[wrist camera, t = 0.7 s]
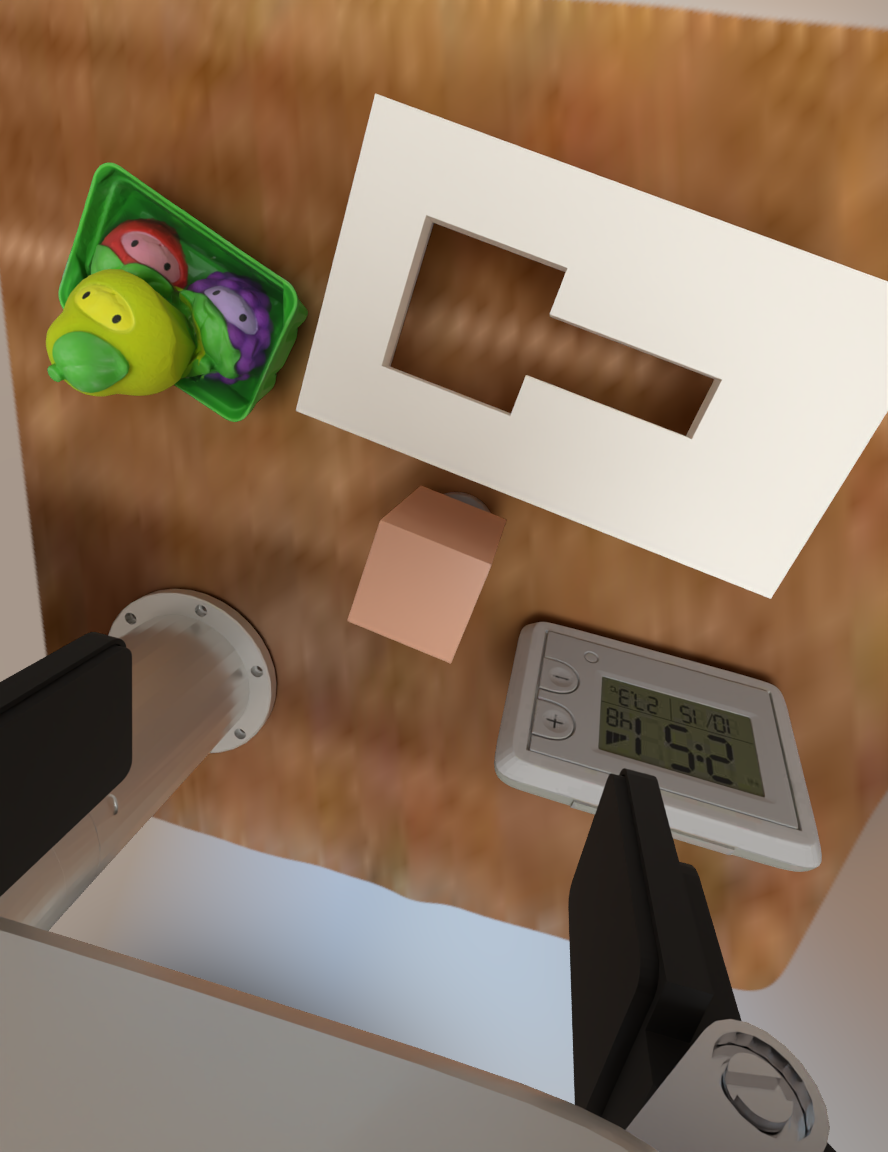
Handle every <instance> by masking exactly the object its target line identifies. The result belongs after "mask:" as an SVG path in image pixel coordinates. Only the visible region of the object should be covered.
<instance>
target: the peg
mask: <svg viewBox="0 0 888 1152" xmlns="http://www.w3.org/2000/svg"><path fill="white" fill-rule="evenodd" d="M505 523H506V519H504V518H501V517H499V516H496V515H494V514H491V513H490V511H489V509H488V508H487V506H486V505H485V504H484V503H483V502H482V501H481V500H479V499H478V498H476V497H475V496H473V495H470V494H467V493H463V492H449V493H445V494H441V493H438V492H436V491H433V490H431V489H428V488H426V487H423V486H420V487H419V488H417V489H416V490H415V491H414V492H413V493H412V494H410V495H409V496H408V497H407V498H406V499H404V500H403V501H402V502H401V503H400V504H399V505H397V506H396V507H395V508H394V509H393V510H391V511H390V512H389V513H388V514H387V515H386V516H384V517H383V518H382V519H381V520H380V522H379V526H378V529H377V532H376V535H375V538H374V541H373V544H372V547H371V550H370V553H369V556H368V559H367V562H366V565H365V568H364V571H363V575H362V578H361V581H360V584H359V587H358V590H357V593H356V596H355V599H354V602H353V605H352V608H351V611H350V614H349V617H348V620H347V621H349V622H351V623H354V624H356V625H359V626H361V627H363V628H366V629H368V630H371V631H373V632H376V633H378V634H380V635H383V636H385V637H388V638H390V639H393V640H395V641H397V642H400V643H402V644H405V645H407V646H410V647H412V648H414V649H417V650H419V651H422V652H424V653H427V654H429V655H431V656H434V657H436V658H439V659H441V660H444V661H446V662H448V663H451V662H452V659H453V657H454V654H455V652H456V650H457V647H458V645H459V642H460V640H461V638H462V635H463V633H464V630H465V628H466V626H467V623H468V621H469V618H470V616H471V613H472V611H473V609H474V606H475V604H476V601H477V599H478V597H479V594H480V592H481V589H482V587H483V584H484V582H485V580H486V577H487V575H488V572H489V570H490V568H491V565H492V562H493V559H494V556H495V553H496V550H497V547H498V544H499V541H500V538H501V535H502V532H503V529H504V526H505Z"/></svg>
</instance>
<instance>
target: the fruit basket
mask: <svg viewBox="0 0 888 1152" xmlns="http://www.w3.org/2000/svg"><path fill="white" fill-rule="evenodd" d="M59 300H60V304H61V306H62V308H63V312H62V314H60V315H59V316H58V318H57V319H56V320H55V321H54V322H53V323H52V324H51V326H50V327H49V329H48V331H47V337H46V348H47V352H48V356H49V359H50V361H51V363H52V365H51V366H49V367H48V369H47V371H48V374H49V376H50V377H51V378H52V379H53V380H54V381H56V382H60V381H61V380H64V381H65V382H67V383H68V384H69V385H70V386H71V387H73V388H74V389H76V390H77V391H79V392H81V393H84V394H87V395H91V396H109V395H114V394H125V395H133V396H143V395H151V394H155V393H159V392H161V391H164V390H166V389H167V388H169V387H171V386H173V385H175V386H177V387H178V388H179V389H181V390H182V391H184V392H186V393H187V394H189V395H190V396H192V397H193V398H194V399H196V400H198V401H199V402H201V403H202V404H204V405H205V406H207V407H208V408H210V409H211V410H213V411H214V412H216V413H217V414H219V415H220V416H222V417H223V418H225V419H227V420H229V421H233V422H238V421H241V420H243V419H244V418H245V417H246V416H247V415H248V414H249V413H250V412H251V411H252V409H253V408H254V406H255V404H256V403H257V402H258V401H259V400H260V399H262V398H263V397H264V396H265V395H266V394H267V393H268V392H269V391H270V390H271V389H272V388H273V387H274V385H275V382H276V376H277V375H276V373H277V372H278V371H279V370H280V369H281V368H282V367H283V366H284V364H285V362H286V359H287V357H288V355H289V353H290V351H291V349H292V347H293V345H294V343H295V340H296V338H297V332H298V327H299V326H300V325H301V324H302V323H303V322H304V321H305V319H306V317H307V315H308V311H307V309H306V308H305V306H304V305H303V304H302V303H301V301H300V300H299V299H298V296H297V293H296V291H295V289H294V288H293V286H292V285H291V284H290V283H289V282H288V281H286V280H285V279H283V278H282V277H280V276H279V275H277V274H276V273H274V272H273V271H271V270H270V269H268V268H267V267H265V266H264V265H262V264H261V263H259V262H258V261H256V260H255V259H253V258H252V257H250V256H249V255H247V254H246V253H244V252H243V251H241V250H240V249H238V248H237V247H236V246H234V245H233V244H231V243H230V242H229V241H227V240H225V239H224V238H222V237H221V236H220V235H218V234H217V233H215V232H214V231H212V230H211V229H210V228H208V227H207V226H205V225H204V224H203V223H201V222H200V221H198V220H197V219H195V218H194V217H192V216H191V215H189V214H188V213H187V212H186V211H184V210H182V209H181V208H179V207H178V206H176V205H175V204H173V203H172V202H170V201H169V200H168V199H166V198H165V197H163V196H162V195H160V194H159V193H157V192H156V191H155V190H153V189H152V188H150V187H149V186H147V185H146V184H144V183H143V182H142V181H140V180H139V179H137V178H136V177H134V176H133V175H132V174H130V173H129V172H127V171H126V170H125V169H123V168H122V167H120V166H118V165H116V164H114V163H104V164H102V165H100V166H99V168H98V169H97V170H96V172H95V174H94V176H93V180H92V183H91V186H90V190H89V193H88V197H87V200H86V203H85V208H84V211H83V213H82V217H81V220H80V223H79V227H78V230H77V234H76V237H75V239H74V243H73V247H72V249H71V252H70V255H69V258H68V261H67V264H66V267H65V270H64V274H63V277H62V281H61V284H60V287H59Z"/></svg>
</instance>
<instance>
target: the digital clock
mask: <svg viewBox="0 0 888 1152" xmlns="http://www.w3.org/2000/svg"><path fill="white" fill-rule="evenodd" d="M494 765H495V771H496V774H497V776H498V778H499V779H501V780H502V781H503V782H504V783H505V784H507V785H509V786H511V787H513V788H516V789H519V790H522V791H525V792H528V793H531V794H534V795H537V796H541V797H544V798H547V799H550V800H553V801H557V802H560V803H563V804H566V805H570V807H572V808H575V809H578V810H582V811H585V812H588V813H591V814H595V813H596V810H597V807H598V804H599V801H600V798H601V796H602V793H603V790H604V787H605V784H606V781H607V778H608V776H609V774H611V773H612V774H616V775H619V774H620V772H621V770H622V769H624V768H626V769H630V770H634V771H638V772H642V773H645V774H649V775H653V776H655V777H656V778H657V780H658V784H659V787H660V791H661V795H662V799H663V803H664V807H665V810H666V814H667V818H668V822H669V826H670V830H671V833H672V837H673V838H674V839H677V840H681V841H684V842H687V843H691V844H694V845H697V846H701V847H704V848H707V849H710V850H714V851H717V852H720V853H724V854H727V855H731V854H732V855H735V856H739V857H742V858H745V859H749V860H752V861H756V862H759V863H762V864H766V865H769V866H773V867H776V868H780V869H785V870H790V871H799V872H803V871H809V870H812V869H814V868H816V867H817V866H819V865H820V863H821V858H822V854H821V847H820V842H819V838H818V833H817V828H816V824H815V820H814V816H813V811H812V807H811V803H810V799H809V795H808V791H807V787H806V783H805V779H804V775H803V771H802V767H801V763H800V759H799V755H798V751H797V746H796V742H795V738H794V734H793V730H792V726H791V722H790V718H789V714H788V710H787V706H786V703H785V700H784V698H783V695H782V693H781V692H780V690H779V689H778V688H777V687H775V686H774V685H772V684H770V683H767V682H764V681H761V680H758V679H754V678H751V677H748V676H744V675H741V674H737V673H734V672H730V671H726V670H723V669H719V668H716V667H712V666H708V665H705V664H701V663H697V662H694V661H690V660H686V659H683V658H679V657H675V656H672V655H668V654H665V653H661V652H657V651H654V650H650V649H646V648H643V647H639V646H635V645H632V644H628V643H624V642H621V641H617V640H614V639H610V638H606V637H603V636H599V635H595V634H592V633H588V632H584V631H581V630H577V629H573V628H569V627H565V626H561V625H558V624H554V623H549V622H537V623H533V624H528V625H526V626H525V627H523V629H522V630H521V633H520V636H519V640H518V644H517V649H516V654H515V659H514V663H513V668H512V673H511V678H510V683H509V687H508V692H507V697H506V702H505V707H504V711H503V716H502V721H501V726H500V731H499V735H498V740H497V746H496V752H495V761H494Z"/></svg>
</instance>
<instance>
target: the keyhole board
mask: <svg viewBox="0 0 888 1152" xmlns="http://www.w3.org/2000/svg"><path fill="white" fill-rule="evenodd" d="M434 223H436V224H438V225H441V226H444V227H446V228H449V229H452V230H454V231H457V232H460V233H462V234H465V235H468V236H470V237H473V238H476V239H478V240H481V241H484V242H486V243H489V244H491V245H494V246H497V247H499V248H502V249H505V250H507V251H510V252H513V253H515V254H518V255H521V256H523V257H526V258H529V259H531V260H534V261H537V262H539V263H542V264H545V265H547V266H550V267H553V268H555V269H558V270H561V271H563V272H566V273H565V276H564V278H563V281H562V283H561V286H560V289H559V291H558V294H557V296H556V299H555V302H554V304H553V307H552V309H551V312H550V317H552V318H555V319H557V320H560V321H562V322H565V323H568V324H570V325H573V326H576V327H578V328H581V329H584V330H586V331H589V332H591V333H594V334H597V335H599V336H602V337H605V338H607V339H610V340H612V341H615V342H618V343H620V344H623V345H626V346H628V347H631V348H634V349H636V350H639V351H641V352H644V353H647V354H649V355H652V356H655V357H657V358H660V359H662V360H665V361H668V362H670V363H673V364H676V365H678V366H681V367H684V368H686V369H689V370H691V371H694V372H697V373H699V374H702V375H705V376H707V377H710V378H713V379H714V381H713V383H712V385H711V387H710V389H709V391H708V393H707V395H706V397H705V399H704V401H703V403H702V405H701V407H700V409H699V411H698V413H697V415H696V417H695V419H694V421H693V423H692V425H691V427H690V429H689V431H688V433H687V435H686V436H684V435H682V434H679V433H676V432H674V431H671V430H669V429H666V428H663V427H661V426H658V425H656V424H653V423H650V422H648V421H645V420H643V419H640V418H637V417H635V416H632V415H630V414H627V413H625V412H622V411H619V410H617V409H614V408H612V407H609V406H606V405H604V404H601V403H599V402H596V401H593V400H591V399H588V398H586V397H583V396H580V395H578V394H575V393H573V392H570V391H567V390H565V389H562V388H560V387H557V386H554V385H552V384H549V383H547V382H544V381H541V380H539V379H536V378H534V377H531V376H528V375H526V376H525V379H524V382H523V384H522V387H521V389H520V392H519V395H518V397H517V400H516V402H515V405H514V407H513V410H512V413H508V412H506V411H503V410H501V409H498V408H496V407H493V406H490V405H488V404H485V403H483V402H480V401H478V400H475V399H472V398H470V397H467V396H465V395H462V394H460V393H457V392H454V391H452V390H449V389H447V388H444V387H442V386H439V385H436V384H434V383H431V382H429V381H426V380H424V379H421V378H418V377H416V376H413V375H411V374H408V373H406V372H403V371H400V370H398V369H395V368H393V367H391V363H392V360H393V357H394V353H395V350H396V347H397V343H398V340H399V337H400V333H401V330H402V327H403V324H404V320H405V317H406V314H407V310H408V307H409V304H410V300H411V297H412V294H413V290H414V287H415V284H416V281H417V277H418V274H419V271H420V267H421V264H422V261H423V257H424V254H425V251H426V247H427V244H428V241H429V238H430V234H431V231H432V228H433V224H434ZM296 411H298V412H300V413H303V414H305V415H308V416H310V417H313V418H315V419H318V420H320V421H323V422H325V423H328V424H330V425H333V426H335V427H338V428H340V429H343V430H346V431H348V432H351V433H353V434H356V435H358V436H361V437H363V438H366V439H368V440H371V441H373V442H376V443H378V444H381V445H383V446H386V447H389V448H391V449H394V450H396V451H399V452H401V453H404V454H406V455H409V456H411V457H414V458H416V459H419V460H421V461H424V462H426V463H429V464H431V465H434V466H437V467H439V468H442V469H444V470H447V471H449V472H452V473H454V474H457V475H459V476H462V477H464V478H467V479H469V480H472V481H474V482H477V483H479V484H482V485H485V486H487V487H490V488H492V489H495V490H497V491H500V492H502V493H505V494H507V495H510V496H512V497H515V498H517V499H520V500H522V501H525V502H527V503H530V504H533V505H535V506H538V507H540V508H543V509H545V510H548V511H550V512H553V513H555V514H558V515H560V516H563V517H565V518H568V519H570V520H573V521H576V522H578V523H581V524H583V525H586V526H588V527H591V528H593V529H596V530H598V531H601V532H603V533H606V534H608V535H611V536H613V537H616V538H618V539H621V540H624V541H626V542H629V543H631V544H634V545H636V546H639V547H641V548H644V549H646V550H649V551H651V552H654V553H656V554H659V555H661V556H664V557H666V558H669V559H672V560H674V561H677V562H679V563H682V564H684V565H687V566H689V567H692V568H694V569H697V570H699V571H702V572H704V573H707V574H709V575H712V576H714V577H717V578H720V579H722V580H725V581H727V582H730V583H732V584H735V585H737V586H740V587H742V588H745V589H747V590H750V591H752V592H755V593H757V594H760V595H763V596H765V597H768V598H770V599H771V598H772V596H773V594H774V593H775V591H776V589H777V588H778V586H779V585H780V583H781V581H782V580H783V578H784V577H785V575H786V573H787V572H788V570H789V569H790V567H791V565H792V564H793V562H794V561H795V559H796V557H797V556H798V554H799V553H800V551H801V549H802V548H803V546H804V545H805V543H806V541H807V540H808V538H809V537H810V535H811V533H812V532H813V530H814V528H815V527H816V525H817V524H818V522H819V520H820V519H821V517H822V516H823V514H824V512H825V511H826V509H827V508H828V506H829V504H830V503H831V501H832V500H833V498H834V496H835V495H836V493H837V492H838V490H839V488H840V487H841V485H842V484H843V482H844V480H845V479H846V477H847V476H848V474H849V472H850V471H851V469H852V468H853V466H854V464H855V463H856V461H857V459H858V458H859V456H860V455H861V453H862V451H863V450H864V448H865V447H866V445H867V443H868V442H869V440H870V439H871V437H872V435H873V434H874V432H875V431H876V429H877V427H878V426H879V424H880V423H881V421H882V419H883V418H884V416H885V415H886V413H887V411H888V282H887V281H885V280H882V279H879V278H876V277H874V276H871V275H868V274H866V273H863V272H860V271H857V270H855V269H852V268H849V267H847V266H844V265H841V264H838V263H836V262H833V261H830V260H827V259H825V258H822V257H819V256H817V255H814V254H811V253H808V252H806V251H803V250H800V249H797V248H795V247H792V246H789V245H787V244H784V243H781V242H778V241H776V240H773V239H770V238H767V237H765V236H762V235H759V234H757V233H754V232H751V231H748V230H746V229H743V228H740V227H737V226H735V225H732V224H729V223H727V222H724V221H721V220H718V219H716V218H713V217H710V216H708V215H705V214H702V213H699V212H697V211H694V210H691V209H688V208H686V207H683V206H680V205H678V204H675V203H672V202H669V201H667V200H664V199H661V198H658V197H656V196H653V195H650V194H648V193H645V192H642V191H639V190H637V189H634V188H631V187H628V186H626V185H623V184H620V183H618V182H615V181H612V180H609V179H607V178H604V177H601V176H598V175H596V174H593V173H590V172H588V171H585V170H582V169H579V168H577V167H574V166H571V165H569V164H566V163H563V162H560V161H558V160H555V159H552V158H549V157H547V156H544V155H541V154H539V153H536V152H533V151H530V150H528V149H525V148H522V147H519V146H517V145H514V144H511V143H509V142H506V141H503V140H500V139H498V138H495V137H492V136H489V135H487V134H484V133H481V132H479V131H476V130H473V129H470V128H468V127H465V126H462V125H459V124H457V123H454V122H451V121H449V120H446V119H443V118H440V117H438V116H435V115H432V114H430V113H427V112H424V111H421V110H419V109H416V108H413V107H410V106H408V105H405V104H402V103H400V102H397V101H394V100H391V99H389V98H386V97H383V96H380V95H378V94H375V97H374V101H373V105H372V109H371V113H370V117H369V121H368V125H367V129H366V133H365V137H364V141H363V145H362V149H361V153H360V157H359V161H358V165H357V169H356V173H355V177H354V181H353V185H352V189H351V193H350V197H349V201H348V205H347V209H346V212H345V216H344V220H343V224H342V228H341V232H340V236H339V240H338V244H337V248H336V252H335V256H334V260H333V264H332V268H331V272H330V276H329V280H328V284H327V288H326V292H325V296H324V300H323V304H322V308H321V312H320V316H319V320H318V324H317V328H316V332H315V336H314V340H313V344H312V348H311V352H310V356H309V360H308V364H307V368H306V372H305V376H304V380H303V384H302V388H301V392H300V396H299V400H298V404H297V408H296Z"/></svg>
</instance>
